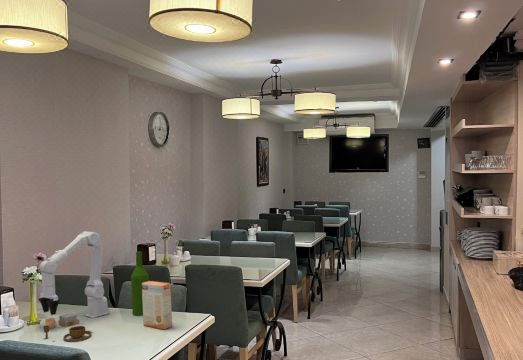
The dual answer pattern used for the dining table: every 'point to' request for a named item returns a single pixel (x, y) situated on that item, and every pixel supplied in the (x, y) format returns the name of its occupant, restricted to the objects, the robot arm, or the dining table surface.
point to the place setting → (73, 333)
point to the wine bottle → (138, 285)
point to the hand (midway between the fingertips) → (49, 313)
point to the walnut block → (69, 323)
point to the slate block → (68, 317)
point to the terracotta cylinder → (50, 322)
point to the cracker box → (157, 304)
